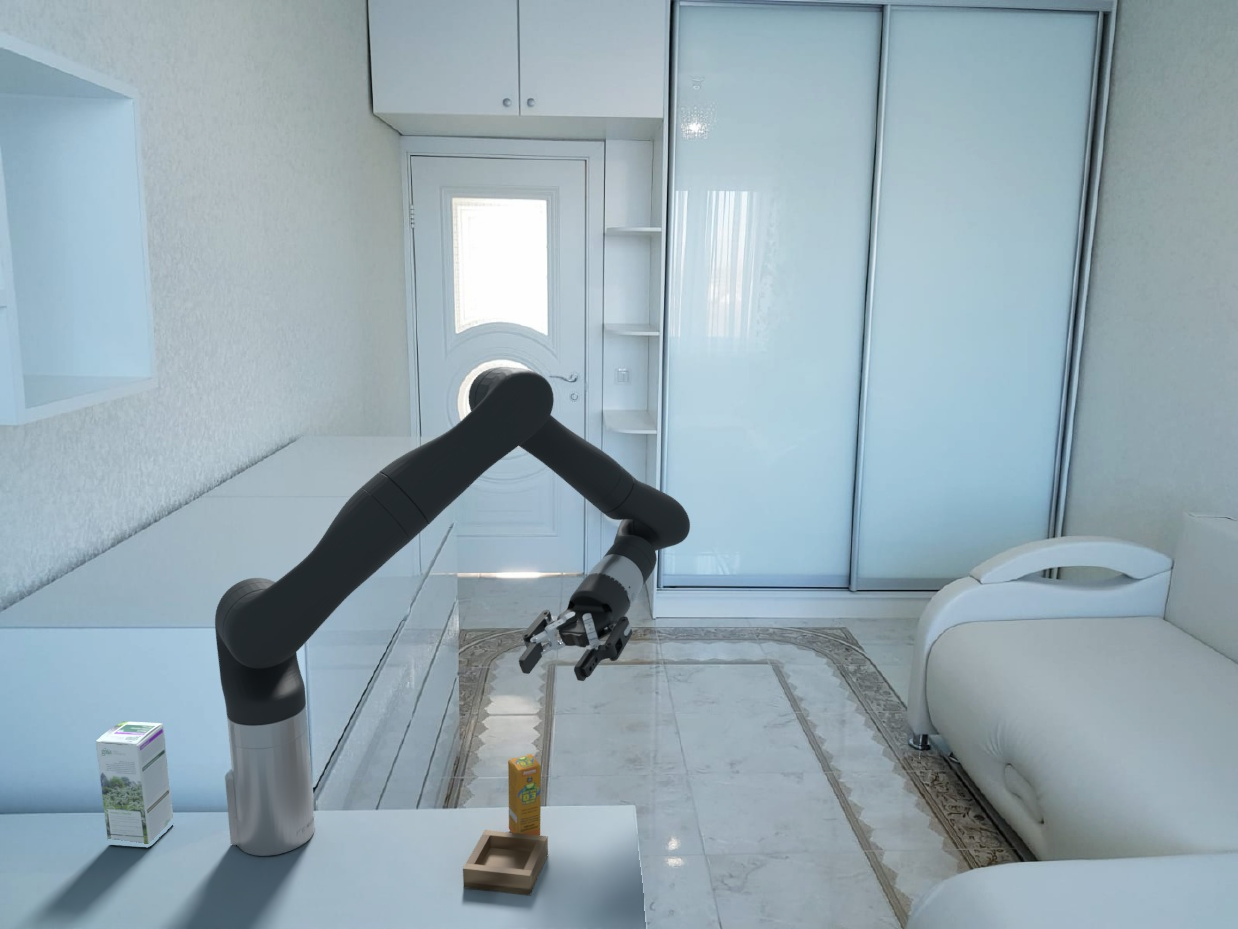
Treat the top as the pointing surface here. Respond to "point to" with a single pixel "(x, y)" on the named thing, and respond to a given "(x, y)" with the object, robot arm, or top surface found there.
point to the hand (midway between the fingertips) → (550, 672)
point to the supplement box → (524, 795)
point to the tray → (506, 862)
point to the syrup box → (134, 781)
